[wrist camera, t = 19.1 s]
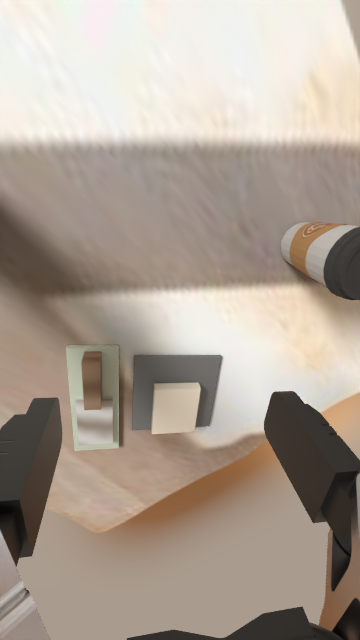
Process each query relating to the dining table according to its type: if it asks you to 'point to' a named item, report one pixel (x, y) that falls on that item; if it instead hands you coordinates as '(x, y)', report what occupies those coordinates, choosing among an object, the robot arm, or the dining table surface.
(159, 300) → the dining table surface
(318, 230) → the coffee cup
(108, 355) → the board
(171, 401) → the tile
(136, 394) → the mat
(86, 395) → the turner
